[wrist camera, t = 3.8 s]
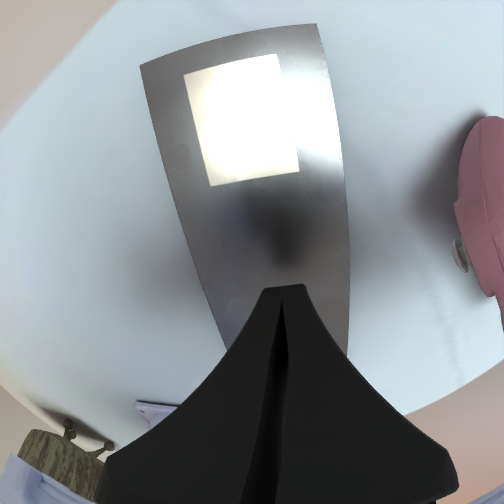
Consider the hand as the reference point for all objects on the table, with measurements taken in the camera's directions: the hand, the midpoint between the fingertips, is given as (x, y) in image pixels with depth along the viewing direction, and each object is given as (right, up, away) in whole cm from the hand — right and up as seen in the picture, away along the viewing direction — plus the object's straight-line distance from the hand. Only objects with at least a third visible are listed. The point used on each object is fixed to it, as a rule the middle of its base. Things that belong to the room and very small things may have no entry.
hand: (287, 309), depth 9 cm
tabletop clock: (-28, -25, +20) cm, 42 cm away
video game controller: (+10, +3, 0) cm, 11 cm away
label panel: (0, +2, +2) cm, 3 cm away
